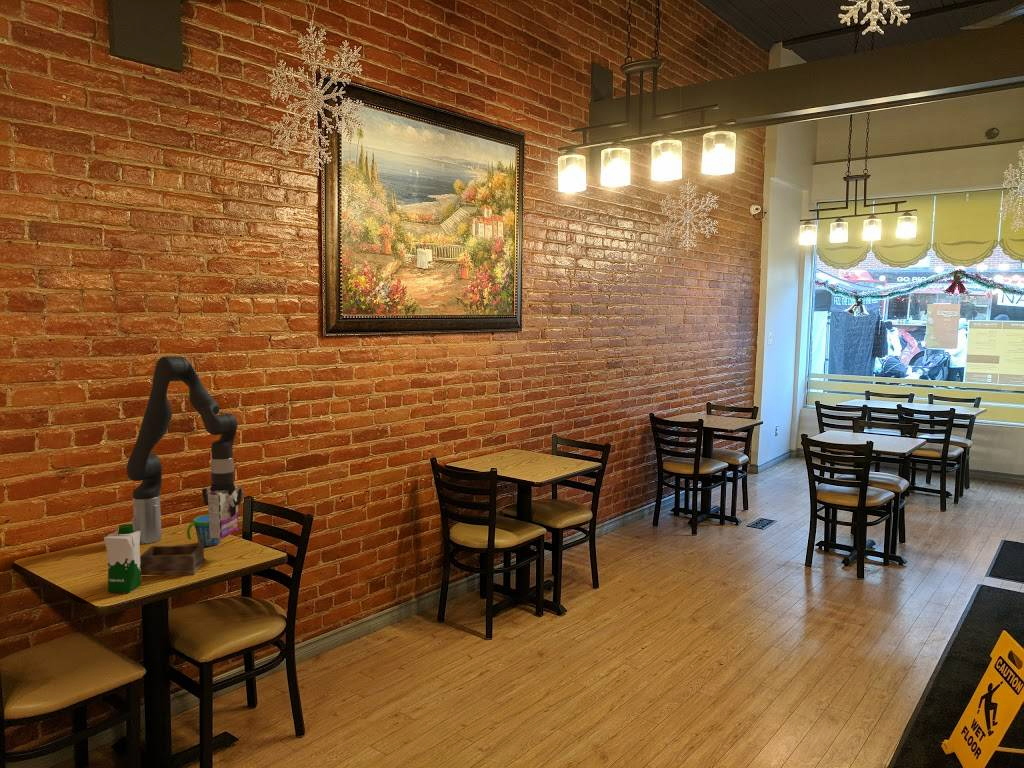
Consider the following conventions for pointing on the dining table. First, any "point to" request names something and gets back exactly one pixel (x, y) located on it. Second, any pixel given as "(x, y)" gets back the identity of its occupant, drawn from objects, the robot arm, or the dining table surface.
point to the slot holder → (172, 560)
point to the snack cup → (202, 531)
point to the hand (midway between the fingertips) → (223, 516)
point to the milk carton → (123, 559)
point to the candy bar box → (221, 515)
